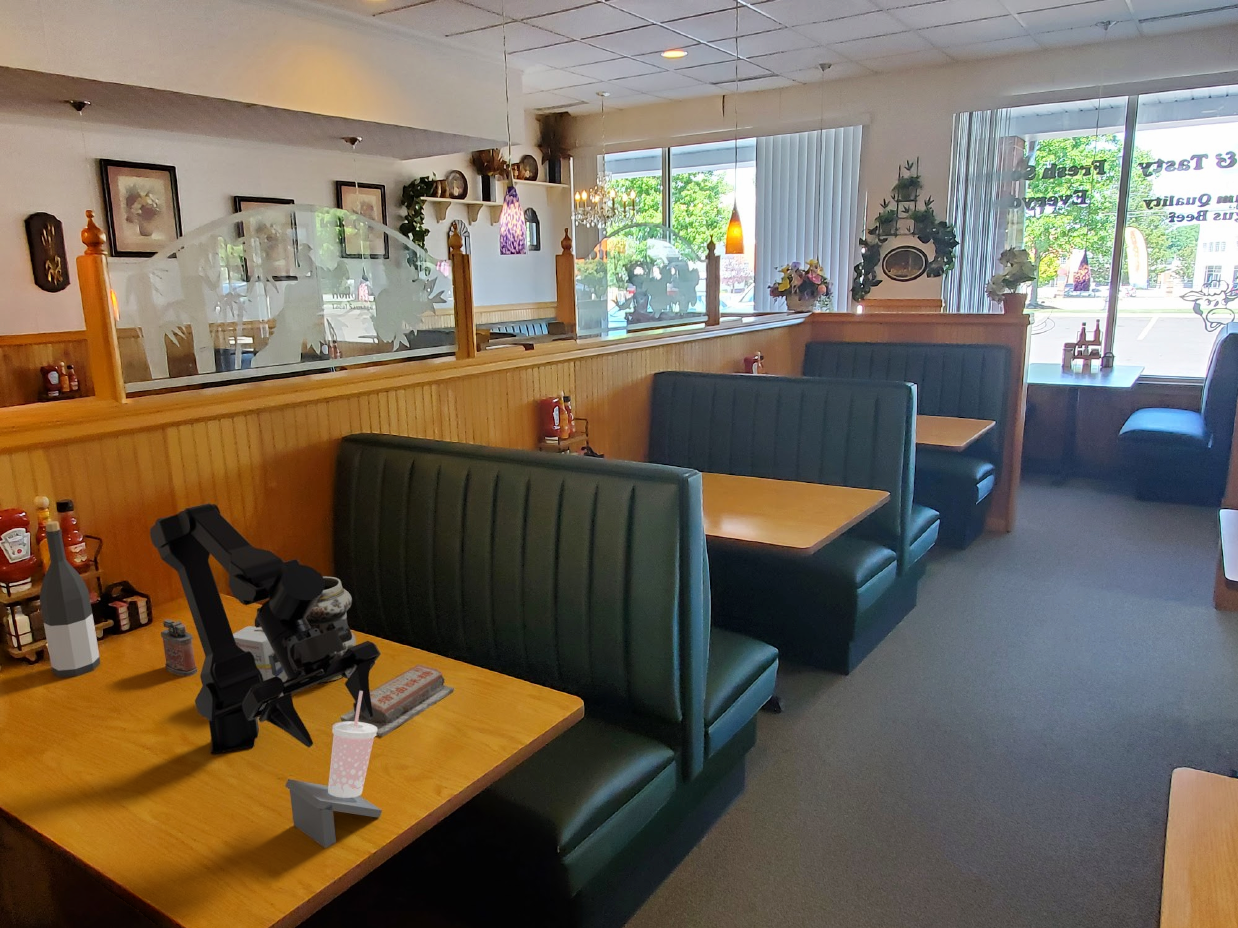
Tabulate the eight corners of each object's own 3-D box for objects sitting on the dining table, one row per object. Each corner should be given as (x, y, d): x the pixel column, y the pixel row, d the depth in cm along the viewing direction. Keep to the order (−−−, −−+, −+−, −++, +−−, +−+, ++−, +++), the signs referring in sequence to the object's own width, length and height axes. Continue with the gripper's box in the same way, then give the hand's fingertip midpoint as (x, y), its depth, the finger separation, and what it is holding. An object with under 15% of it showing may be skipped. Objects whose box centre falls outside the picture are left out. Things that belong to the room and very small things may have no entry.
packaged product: (411, 658, 161) (453, 669, 156) (413, 682, 162) (454, 693, 157) (337, 699, 146) (380, 713, 141) (340, 725, 147) (382, 739, 142)
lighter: (201, 671, 168) (195, 622, 166) (185, 677, 165) (178, 629, 163) (178, 662, 172) (171, 615, 170) (161, 668, 170) (154, 620, 167)
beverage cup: (372, 798, 119) (388, 696, 120) (327, 800, 116) (344, 695, 117) (361, 783, 125) (377, 686, 126) (318, 785, 122) (334, 685, 123)
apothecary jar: (358, 680, 162) (349, 590, 159) (290, 690, 159) (279, 598, 155) (358, 654, 174) (350, 569, 170) (294, 663, 171) (285, 576, 167)
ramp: (350, 794, 126) (346, 750, 125) (382, 815, 121) (378, 769, 120) (289, 826, 119) (284, 780, 118) (321, 850, 114) (316, 802, 113)
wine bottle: (42, 676, 168) (15, 527, 161) (77, 658, 175) (52, 515, 169) (76, 679, 166) (51, 529, 159) (110, 661, 173) (86, 517, 167)
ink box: (291, 690, 159) (284, 630, 157) (270, 702, 155) (262, 641, 152) (255, 683, 163) (247, 624, 160) (233, 695, 158) (226, 635, 155)
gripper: (241, 629, 111) (296, 735, 106) (367, 587, 124) (420, 679, 120) (220, 669, 117) (270, 770, 113) (341, 625, 131) (391, 713, 127)
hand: (341, 731), depth 118 cm, fingers open, 9 cm apart
